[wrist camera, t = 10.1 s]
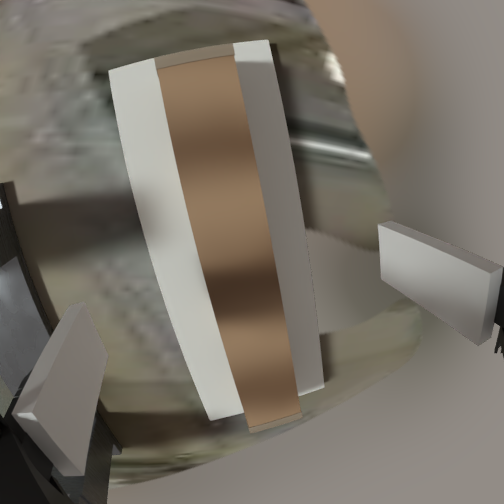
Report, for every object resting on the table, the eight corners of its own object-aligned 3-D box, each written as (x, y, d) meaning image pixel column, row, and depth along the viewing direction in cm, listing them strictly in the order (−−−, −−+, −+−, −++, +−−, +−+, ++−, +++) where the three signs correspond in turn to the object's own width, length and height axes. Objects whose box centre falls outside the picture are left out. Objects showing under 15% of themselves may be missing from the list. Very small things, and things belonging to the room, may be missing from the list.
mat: (110, 73, 15) (108, 70, 14) (265, 42, 16) (268, 39, 15) (209, 415, 22) (210, 420, 22) (321, 382, 24) (324, 387, 23)
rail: (158, 74, 15) (153, 57, 12) (224, 61, 15) (232, 43, 13) (241, 404, 22) (250, 433, 19) (289, 390, 22) (302, 417, 19)
